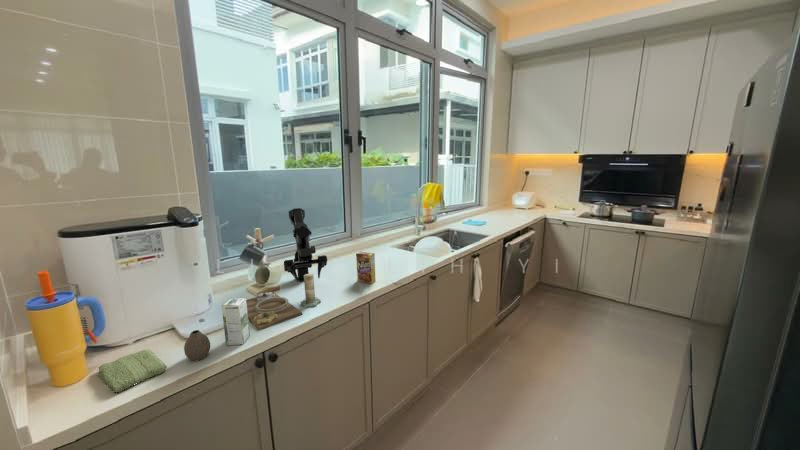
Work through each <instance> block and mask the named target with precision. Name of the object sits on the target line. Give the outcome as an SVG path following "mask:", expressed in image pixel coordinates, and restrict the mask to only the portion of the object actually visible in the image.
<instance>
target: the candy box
mask: <svg viewBox="0 0 800 450" xmlns="http://www.w3.org/2000/svg"><path fill="white" fill-rule="evenodd" d="M375 255H376V254H375V252H366V251H360V250H359V251H358V252H356V253H355V256H356V257H355V258H356V261H355V262H356V276H357V282H362V283H367V284H373V283H375V282H376V259H375V258H376V257H375Z"/></svg>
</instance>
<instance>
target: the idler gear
mask: <svg viewBox="0 0 800 450" xmlns="http://www.w3.org/2000/svg"><path fill="white" fill-rule="evenodd" d="M303 282H304V284H303V285H304V293H305V297H304V299H303V300H302V301H300V306H303V308H311V307H312V308H313V307H318V305H319V304H321V303H322V299H321V298H318V297H317V296H316V290H315V279H314V273H309V274H305V275H304V281H303Z"/></svg>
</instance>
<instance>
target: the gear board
mask: <svg viewBox="0 0 800 450" xmlns="http://www.w3.org/2000/svg"><path fill="white" fill-rule="evenodd" d="M246 304H247V313H248V322H250V323H251V324H252V325H253V326H254V327H255V328H256V329H257V330H258V331H261V330H264V329H266V328H269V327H271V326H275V325H277V324H280V323H282V322H285V321H288V320H291V319H294V318H297V317H300V316H302V315H303V312H302V310H300V309H298V308H297V307H295V306H294V305H293V304H292V303H290V302H289V299H287V297H283V296H279V295H278V294H277V293H275V292H274V291H270V292H261V293H259V294H257V295H255V296H254V297H252V298H248V299H247V298H246Z"/></svg>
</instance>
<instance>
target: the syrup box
mask: <svg viewBox="0 0 800 450" xmlns="http://www.w3.org/2000/svg"><path fill="white" fill-rule="evenodd" d="M246 300H247V298H241V297H240V298H239V297H238V298H236V297H235V298H231V299H230V298H229V299H228V300H227V301H226V302H225V303H224V304H222V306H221V312H222V321H223V330H224V337H225V338H224V339H225V345H226V346H239V345H240V344H241V345H244V344H245V343H246V341H247V340H248V339H249V337H250V326H249V325H250V324H249V320H248V313H247V304H246Z"/></svg>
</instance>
